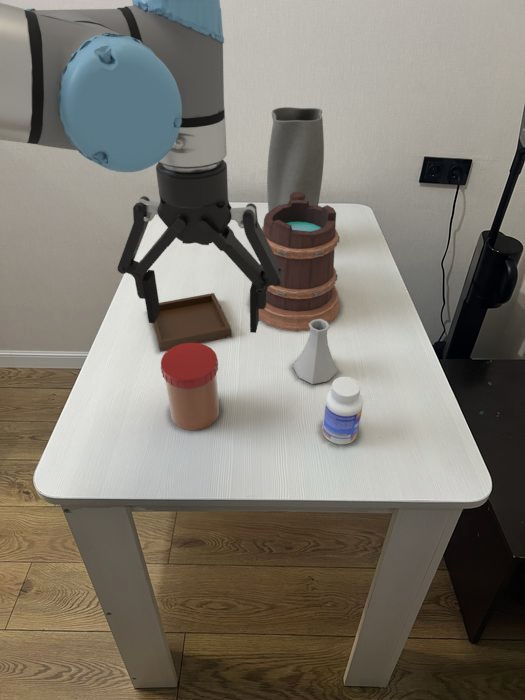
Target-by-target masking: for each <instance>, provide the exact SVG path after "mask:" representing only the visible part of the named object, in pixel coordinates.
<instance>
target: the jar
mask: <svg viewBox="0 0 525 700" xmlns="http://www.w3.org/2000/svg"><path fill="white" fill-rule="evenodd" d="M217 375H218V373H216V375H215V377H214V378H213V380H211V381H210V382H209V383H207V384H205V385H203V386H200V387H197V388H191V389H184V388H177V387H175V386H172V385H171V384H169V383H168V382H166V380H165V379H164V380H165V381H164V382H165V386H166V392H167V393H166V394H167V399H168V404H169V405H168V406H169V410H170V416H171V420H172V421H173V423H174V424H175V425H176V426H177V427H179V428H180V429H183V430H187V431H200V430H203V429H207V428H208V427H211V426H212V425H213V424H214V423H215V422H216V421H217V419H218V417H219V415H220V401H219V390H218V389H219V387H218V376H217Z"/></svg>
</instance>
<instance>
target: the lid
mask: <svg viewBox="0 0 525 700" xmlns="http://www.w3.org/2000/svg"><path fill="white" fill-rule="evenodd" d="M160 371H161V374H162V378H163V379H164V380H166V381H165V383H166V382H168V383H169V384H171V385H172V386H175V387H177V388H184V389H191V388H197V387H200V386H203V385H205V384H207V383H209V382H210V381H211V380H213V378H214V377H215V375H216V374H218V371H219V360H218V355H217V354H216V352H215V351H214V350H213V348H212V347H210V346H208V345H207V344H203V343H184V344H180V345H177V346H175V347H173V348H171V349H168V350H166V352H165V353H164V354H163V355H162V357H161V359H160Z"/></svg>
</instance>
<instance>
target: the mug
mask: <svg viewBox="0 0 525 700" xmlns="http://www.w3.org/2000/svg"><path fill="white" fill-rule="evenodd" d="M264 215H265V216H264V217H263V218H264V219H263V225H262V227H261V229H262V231H263V233H264V235H265V237H266V239H267V241H268V243H269V245H270V247H271V249H272V251H273V253H274V255H275V257H276V259H277V261H278V263H279V265H280V267H281V269H282V271H283V273H282V279H281V283H280V285H279V286H273V285H271V286H269V287H268V289H267V303H266V307H265V309H259V321H261V322H263V323H264V324H266V325H267V326H271V327H273V328H276V329H279V330H284V331H285V330H286V331H293V332H300V331H301V332H303V331H310V327H309V323H310V322H311V321H313V320H316V319H322V320H324V321H327V322H328V324H330V323H331V322H333V321H334V320H335V319H336V318H337V316H338V315H339V314H340V308H341V307H340V305H341V304H340V303H341V301H340V299H339V292H338V290H337V288H336V286H335V285H336V282H337V281H338V276H339V275H338V274H337V270H336V268H335V249H336V247H337V246H338V244H339V243H340V236H339V232H338V230H337V229H336V228H337V227H336V222H337V212H336V210H335V209H334V207H332V206H330V205H328V204H327V205H324V206H321V205H318V206H309V201H308V200H305V195H304V194H303V193H302V192H293V193H292V194H291V195H290V200H289V202H288V204H283V205H278V206H277V207H275V208H274V209H272V210H271V211H270V212H268V211H267V213H266V214H264ZM259 264H260V265H261V263H259ZM261 266H262V265H261ZM262 268H263V267H262Z"/></svg>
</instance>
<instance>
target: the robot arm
mask: <svg viewBox="0 0 525 700" xmlns="http://www.w3.org/2000/svg"><path fill="white" fill-rule="evenodd" d="M131 2H132V5H125V6H124V7H117V8H92V9H91V8H87V9H82V8H80V9H77V8H76V9H38V10H37V9H36V8H26V9H24V8H22V7H19V6H14V5H10V4H7V3H2V2H0V141H8V142H15V143H21V144H22V143H23V144H28V145H29V144H30V145H37V146H41V147H48V148H49V147H50V148H56V149H62V150H72V151H78V153H79V154H80V155H82V157H84V158H86V159H87V160H89V161H92V162H93V163H95V164H97V165H99V166H101V167H102V168H104V169H106V170H110V171H114V172H117V173H118V172H119V173H136V172H140V171H144V170H146V169H148V168H149V169H150V167H151V168H152V167H153V166H155V172H156V173H155V174H156V181H157V187H158V188H157V189H158V195H159V202H155V201H151V200H150V198H149V197H148V196H145V195H143V196H141V197H140V198H139V199H138V200H137V201H136V203H135V204H134V205H133V207H132V212H133V213H132V215H133V217H132V218H133V222H132V223H133V224H132V227H131V229H130V232H129V234H128V237H127V240H126V242H125V246H124V248H123V251H122V254H121V257H120V259H119V262H118V264H117V267H116V268H117V269H116V270H117V272H118V273H120V274H122V275H125V274H128V275H131V276H132V277H133V278H134V283H135V288H136V294H137V297H138V298H139V299H141V300H142V299H143V300H144V302H145V307H146V315H147V320H148V323H150V324H152V323H155V321H156V319H157V317H158V315H159V313H160V306H159V303H160V299H159V294H158V286H157V280H156V273H155V270H154V269H150V268H151V267H152V266H153V265H154V264H155V263H156V261H157V260H158V259H159V258H160V257H161V256H162V254H163V253H164V252H165V251H166V250H167V249H168V248H169V247H170V245H172V243H173V242H174V241H175V240H176V239H177V240H179V241H180V242H181V243H182V244H185V245H186V244H188V245H190V244H198V245H201V246H209V245H210V244H214V246H215V247H216V248H217V250H219V251H220V252H223V253H225V255H226V256H227V257H228V258H229V259H230V260H231V261H232V262H233V263H234V265H235V266H236V267H237V268H238V269H239V270H240V271H241V272H242V273H243V275H244V276H245V277H246V278H247V279H248V280H249V281H250V282H251V285H250V289H249V328H250V329H249V332H250V333H253V334H256V333H257V330H258V326H259V321H260V319H259V309H265V307H266V303H267V289H268V287H269V286H271V285H273V286H279V285H280V283H281V279H282V273H283V271H282V269H281V267H280V265H279V263H278V261H277V259H276V257H275V255H274V253H273V251H272V249H271V247H270V245H269V243H268V241H267V239H266V237H265V235H264V233H263V231H262V227H261V225H260V223H259V219H258V211H257V206H256V204H254V203H248V204H246V206H245V207H232V206H231V204H230V201H229V189H228V164H227V162H226V161H225V160H224V159H225V158H226V157H227V153H228V152H227V130H226V112H225V111H226V110H225V90H224V89H225V88H224V87H225V86H224V85H225V84H224V83H225V81H224V44H225V37H224V30H223V18H222V8H221V0H131ZM156 215H157V216H158V217H159V219H160V220H161V221H162V223H163V224H164V225H165V226H166V227H167V228H166V229H165V231H163V233H162V234H161V236H159V238H158V239H157V240H156V241H155V242H154V244H153V245H152V246H151V248H149V250H148V251H147V253H146V254H145V255H144V256H143V257H142V259H140V261H137V260H135V258H136V256H137V253H138V251H139V248H140V246H141V244H142V241H143V238H144V236H145V232H146V230H147V227H148V225H149V223H150V222H151V221H152V220H153V219H154V218H155V216H156ZM232 220H233V221H234V222H236V223H237V225H238V228H240V229H243V231H244V234H245V236H246V239H247V241H248V242H249V244H250V246H251V248H252V250H253V252H254V254H255V256H256V258H257V259H258V260H256V258H255V257H254V256H253V255H252V254H251V253H250V252H249V250H248V249H247V248H246V247H245V245H243V244H242V242H241V241H240V240H239V239H238V238H237V237H236V236H235V232H234V231H233V229H232V228H231V226H229V224H230V223H231V221H232ZM258 261H259V262H258ZM260 264H261V265H262V266H261V265H260ZM262 267H263V268H262Z"/></svg>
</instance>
